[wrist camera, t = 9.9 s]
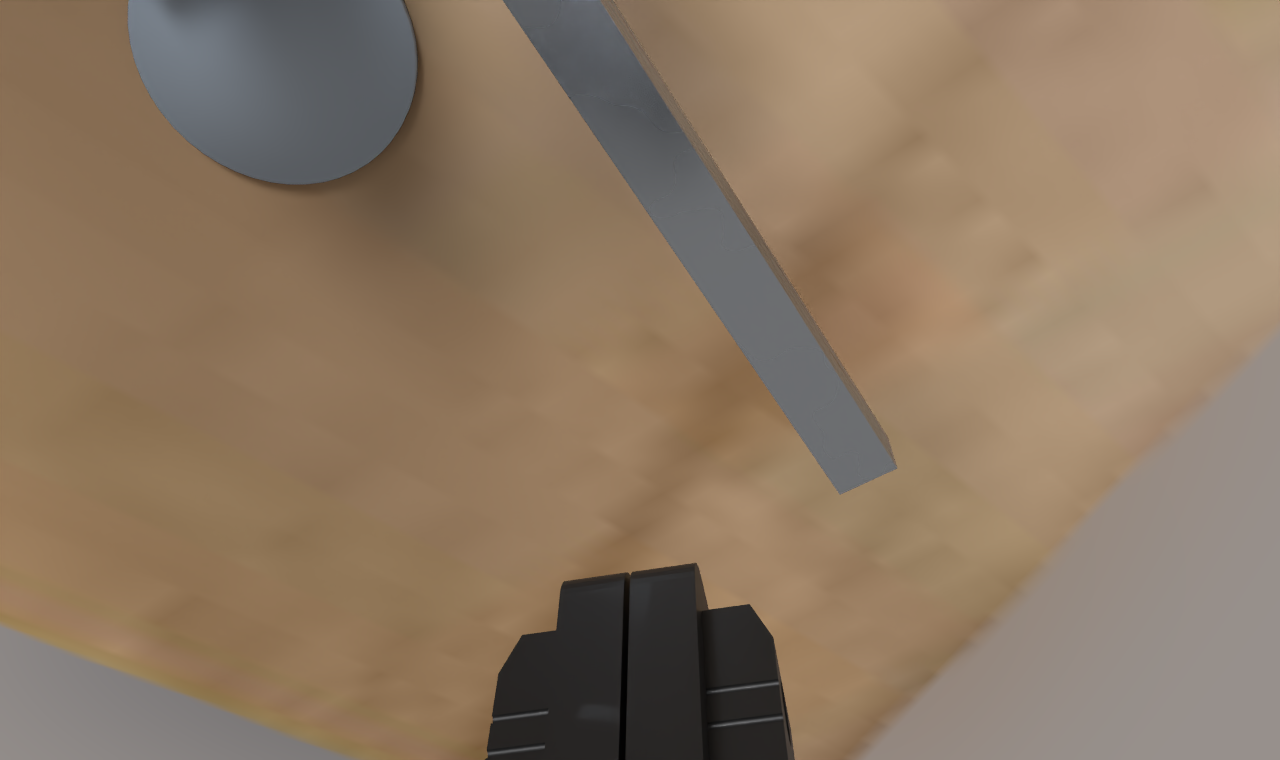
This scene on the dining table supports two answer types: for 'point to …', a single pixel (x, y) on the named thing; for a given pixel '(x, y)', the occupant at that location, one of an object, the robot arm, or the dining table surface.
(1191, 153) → the dining table surface
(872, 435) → the gray square bar
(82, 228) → the dining table surface
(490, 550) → the dining table surface
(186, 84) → the mat
